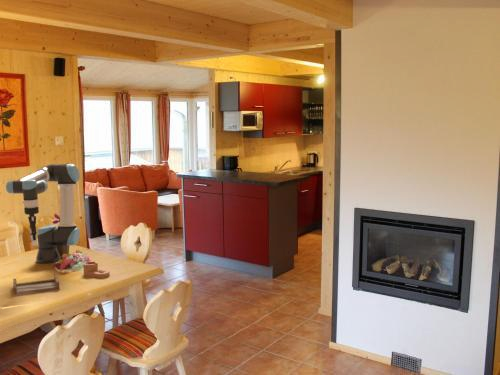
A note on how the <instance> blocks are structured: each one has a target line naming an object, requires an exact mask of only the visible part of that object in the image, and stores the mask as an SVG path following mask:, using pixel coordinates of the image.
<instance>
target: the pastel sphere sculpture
mask: <svg viewBox="0 0 500 375" xmlns="http://www.w3.org/2000/svg"><path fill="white" fill-rule="evenodd" d="M60 257H62V258H60V260H59V261H58V262H57V263H56V262H55V263H54V264H53V266H52V268H53V269H55V271H56V272H58V273H72V272H78V271H84V267H83V263H85V262H87V263H88V262H89V261H92V260H91V259H90V255H89V254H88V253H85V254H84V255H83V251H80V250H79V249H77V250H75V253H74V252H73V253H72V254H70V253H69V254H63V255H61V256H60Z"/></svg>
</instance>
